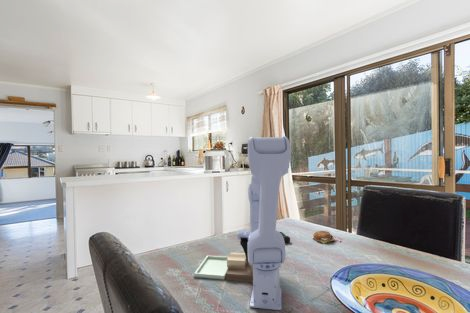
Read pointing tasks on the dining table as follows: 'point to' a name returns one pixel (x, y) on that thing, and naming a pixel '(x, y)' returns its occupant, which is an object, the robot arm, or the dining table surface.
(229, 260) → the oak tile
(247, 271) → the walnut board
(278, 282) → the robot arm
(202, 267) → the green tray
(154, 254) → the dining table surface
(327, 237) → the hamburger
